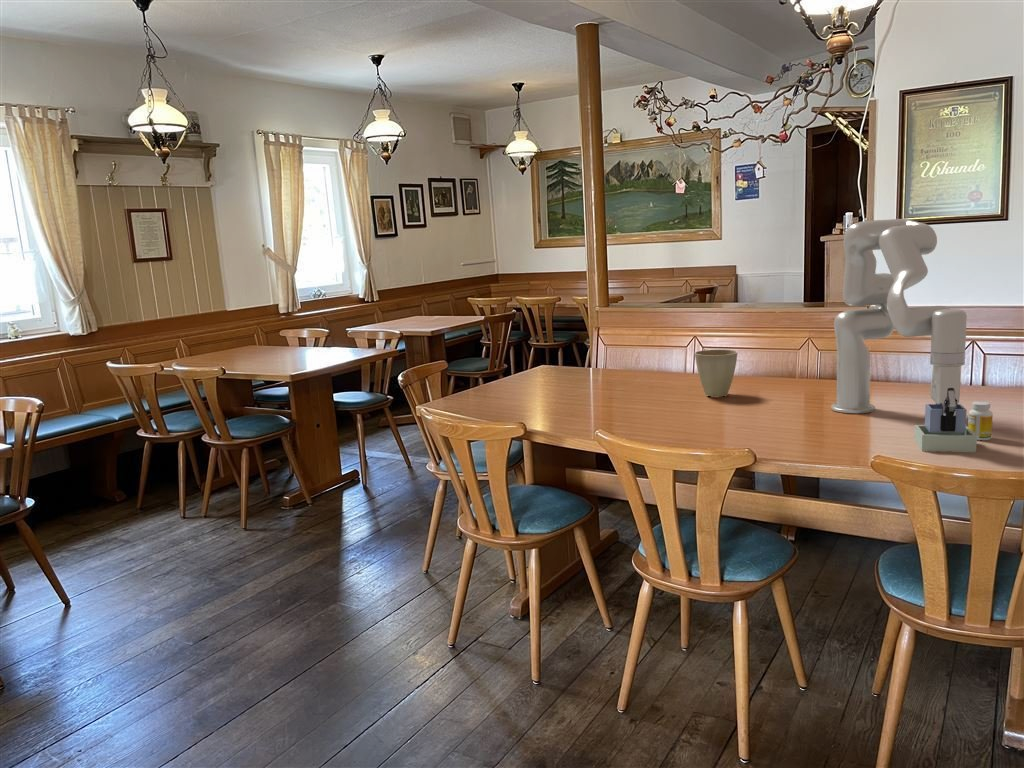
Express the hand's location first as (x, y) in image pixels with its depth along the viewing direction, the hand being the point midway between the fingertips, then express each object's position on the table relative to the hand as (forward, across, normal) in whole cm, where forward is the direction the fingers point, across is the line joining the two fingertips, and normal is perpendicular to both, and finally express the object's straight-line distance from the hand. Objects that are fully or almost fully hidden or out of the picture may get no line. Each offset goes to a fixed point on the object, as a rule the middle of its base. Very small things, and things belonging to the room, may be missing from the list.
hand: (944, 426), depth 190 cm
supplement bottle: (+5, -8, +10) cm, 14 cm away
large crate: (+5, 0, 0) cm, 5 cm away
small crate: (+1, 0, 0) cm, 1 cm away
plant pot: (+5, -62, -60) cm, 87 cm away
